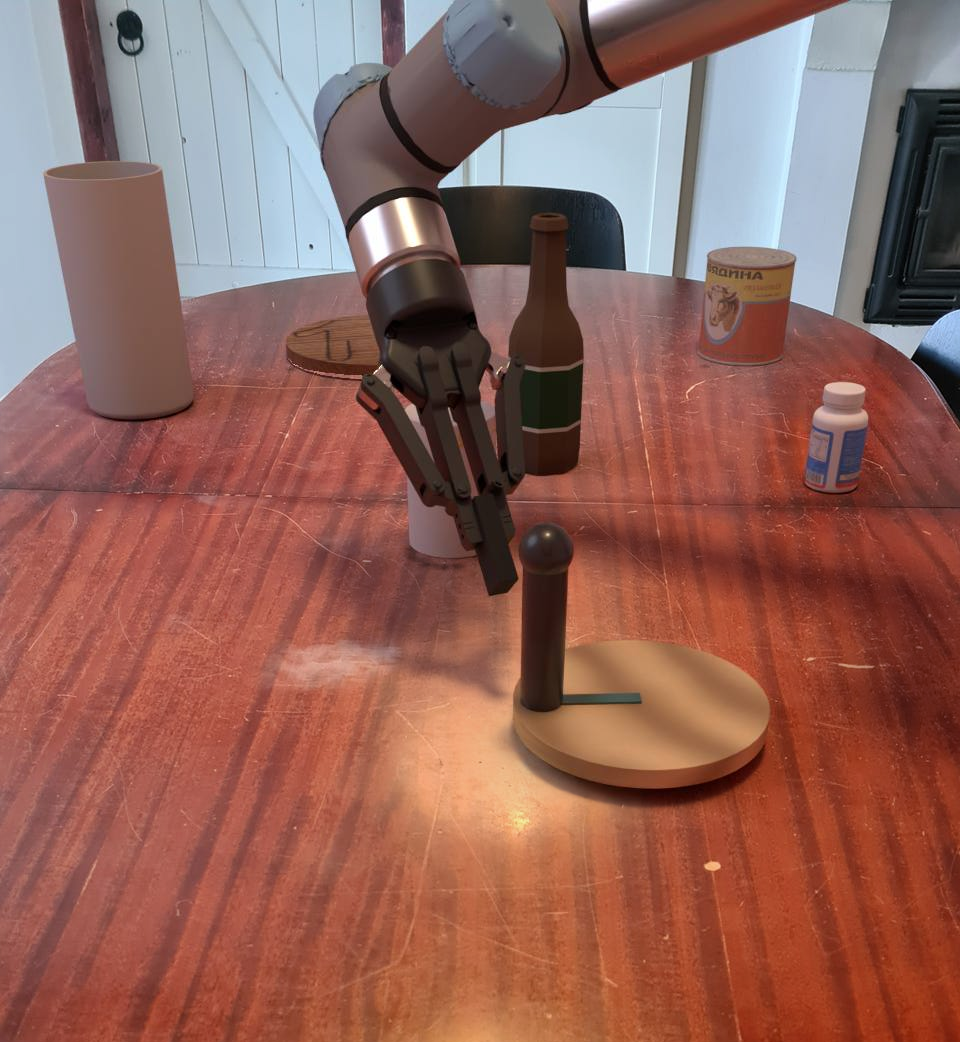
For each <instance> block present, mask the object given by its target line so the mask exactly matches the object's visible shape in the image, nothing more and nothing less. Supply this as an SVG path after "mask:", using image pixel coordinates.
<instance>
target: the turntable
mask: <svg viewBox="0 0 960 1042" xmlns="http://www.w3.org/2000/svg"><path fill="white" fill-rule="evenodd" d="M517 552H518V559H519V562H520V564H521V567H522V579H521V580H522V585H521V630H520V631H521V633H520V634H521V635H520V636H521V638H520V641H521V642H520V677H519V679H518V681H517V682H516V684H515V686H514V689H513V693H512V723H513V726H514V730H515V732H516V734H517V736H518V738H519V740H521V742H522V744H523V745H524V746H525V747H526V748H527V749H528V750H530V751H531V753H533V754H534V755H535V756H536V757H538V758H539V759H541V761H544V762H545V763H546V764H548V765H550V766H552V767H553V768H555V769H558V770H560V771H562V772H565V773H567V774H569V775H572V776H574V777H577V778H580V779H584V780H587V781H591V782H593V783H594V782H595V783H599V784H604V785H609V786H615V787H621V788H632V789H656V790H657V789H659V790H660V789H675V788H682V787H688V786H694V785H699V784H703V783H707V782H711V781H714V780H717V779H720V778H723V777H726V776H727V775H730V774H732V773H734V772H737V771H738V770H739V769H741V768H743V767H745V766H747V764H748V763H749V762H751V761H752V760H754V758H756V756H757V755H758V754H759V753H760V751H761V750H762V749H763V746H764V744H765V742H766V741H767V736H768V731H769V725H770V719H771V704H770V702H769V698H768V696H767V694H766V692H765V691H764V689H763V687H762V686H761V685H760V684H759V683H758V681H757V680H756V679H755V678H753V677H752V676H751V675H750V674H749V673H748V672H747V671H745V670H743V669H742V668H740V667H739V666H737V665H735V664H734V663H732V662H730V661H728V660H726V659H724V658H721V657H719V656H717V655H715V654H712V653H709V652H706V651H704V650H701V649H697V648H694V647H689V646H686V645H682V644H676V643H670V642H662V641H656V640H643V639H642V640H641V639H622V640H621V639H617V640H616V639H615V640H605V641H595V642H590V643H584V644H579V645H576V646H572V647H568V648H566V640H567V639H566V638H567V637H566V635H567V613H568V593H569V592H568V591H569V569H570V566H571V564H572V562H573V559H574V555H575V547H574V542H573V539H572V537H571V535H570V533H568V531H567V530H566V529H565V528H564V527H562V526H561V525H559V524H557V523H554V522H549V521H545V522H539V523H536V524H534V525H532V526H530V527H529V528H528V529H527V530H525V532H524V533H523V534H522V536H521V537H520V540H519V544H518V551H517Z"/></svg>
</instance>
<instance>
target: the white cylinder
mask: <svg viewBox="0 0 960 1042" xmlns="http://www.w3.org/2000/svg"><path fill="white" fill-rule="evenodd" d="M481 407H482V410H483V413H484V416H485V420H486V423H487V426H488V430H489V433H490V436H491V439H492V443H493V446H494V449H495V453H496V454H497V437H496V420H495V405H493V404H491V403H490V402H488V401H484V400H483V399H481ZM404 410H405V412H406V413H407V415H408V417H409V419H410V420H411V422H412V424H413V426H414V428H415V429H416V431H417V433H418V435H419V437H420V438H421V440H422V442H423V444H424V445H425V447H426V449H427V451H428V453H429V454H430V456H431V458H432V460H433V462H434V459H433V456H432V452H431V449H430V446H429V442H428V439H427V435H426V432H425V429H424V427H422V426H421V424H420V420H419V417H418V414H417V410H416V407H415V405H413V404H412V403H410V404H409V405H407V406H406V407H405V408H404ZM448 411H449V414H450V418H451V421H452V425H453V428H454V431H455V435H456V438H457V441H458V445H459V448H460V452H461V455H462V458H463V462H464V465H465V469H466V472H467V475H468V479H469V482H470V485H471V490H472V492H471V498H472V499H473V497H474V496H479V495H478V492H477V489H476V485H475V482H474V479H473V475H472V472H471V469H470V465H469V462H468V459H467V455H466V452H465V449H464V446H463V442H462V439H461V436H460V432H459V429H458V426H457V423H456V422H454V421H453V418H452V415H451V412H450V408H448ZM406 490H407V493H406V494H407V515H408V540H409V545H410V546H411V548H412V549H413V550H414V551H416V552H418V553H420V554H422V555H425V556H429V557H433V558H440V559H441V558H443V559H462V558H469V557H474V556H477V555H476V552H475V550H471V551H465V549H464V548H463V546H462V545H461V542H460V537H459V535H458V531H457V528H456V525H455V521H454V518H453V516H449V515H448V514H447V513H446V512H445V508H446V507H443V506H437V505H435V506H434V507H427V506H425V505H424V504H423V503H422V501H421V499H420V498H419V496H418V494H417V492H416V490H415V489H414V487H413V485H412V483H411V481H410V480H409V478H408V476H407V475H406Z"/></svg>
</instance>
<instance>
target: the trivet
mask: <svg viewBox="0 0 960 1042" xmlns="http://www.w3.org/2000/svg"><path fill="white" fill-rule="evenodd" d="M285 349H286V350H285V351H286V360H287V361H288V362H289V363H290V364H291V365H292V366H293V367H295V368H297V369H299V370H301V371H302V372H305V373H309V374H312V375H316V376H321V377H324V378H325V377H326V378H331V379H338V380H339V379H340V380H349V381H361V380H362V379H350V378H340V377H332V376H325V375H320V374H317V373H313V372H309V371H305V370H303V369H307V370H313V371H319V372H325V373H335V374H344V375H362V376H364V375H365V374H366V373H372V374H373V373H374V372H375V371H376V370H377V369H378V361H379V357H380V350H379V347H378V345H377V342H376V339H375V335H374V332H373V329H372V325H371V322H370V318H369V315H368V314H359V315H348V316H340V317H335V318H328V319H324V320H319V321H316V322H313V323H308V324H306V325H304V326H301V327H299V328H297V329H295V330H293V331H292V332H291V333H290V334H289V335H288V336H286V338H285ZM287 357H288V358H289V359H290V360H291V361H292V363H293V364H295V365H298V366H299V367H302V368H303V369H301V368H299V367H297V366H295V365H293V364H292V363H291V362H290V361H289V360H288V359H287Z"/></svg>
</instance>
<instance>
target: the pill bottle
mask: <svg viewBox="0 0 960 1042" xmlns="http://www.w3.org/2000/svg"><path fill="white" fill-rule="evenodd" d="M823 387H824V388H823V393H822V397H821V399H822V403H823V405H821V406H820V407H818V408H817V409H816V410H815V411H814V413H813V415H812V421H811V428H810V435H809V444H808V451H807V458H806V464H805V471H804V483H805V485H806V486H807V487H809V488H810V489H811V490H815V491H817V492H822V493H828V494H843V493H847V492H851V491H853V490H855V488H857V486H858V485H859V480H860V474H861V469H862V468H861V467H862V462H863V456H864V450H865V446H866V445H865V444H866V439H867V432H868V427H869V414H868V413H867V411H866V410H865V409H863V408H862V406H863V405H864V404H865V398H866V391H867V389H866V387H865V386H863V385H862V384H859V383H855V382H848V381H836V382H835V381H834V382H830V383H827V384H826V385H825V386H823Z"/></svg>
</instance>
